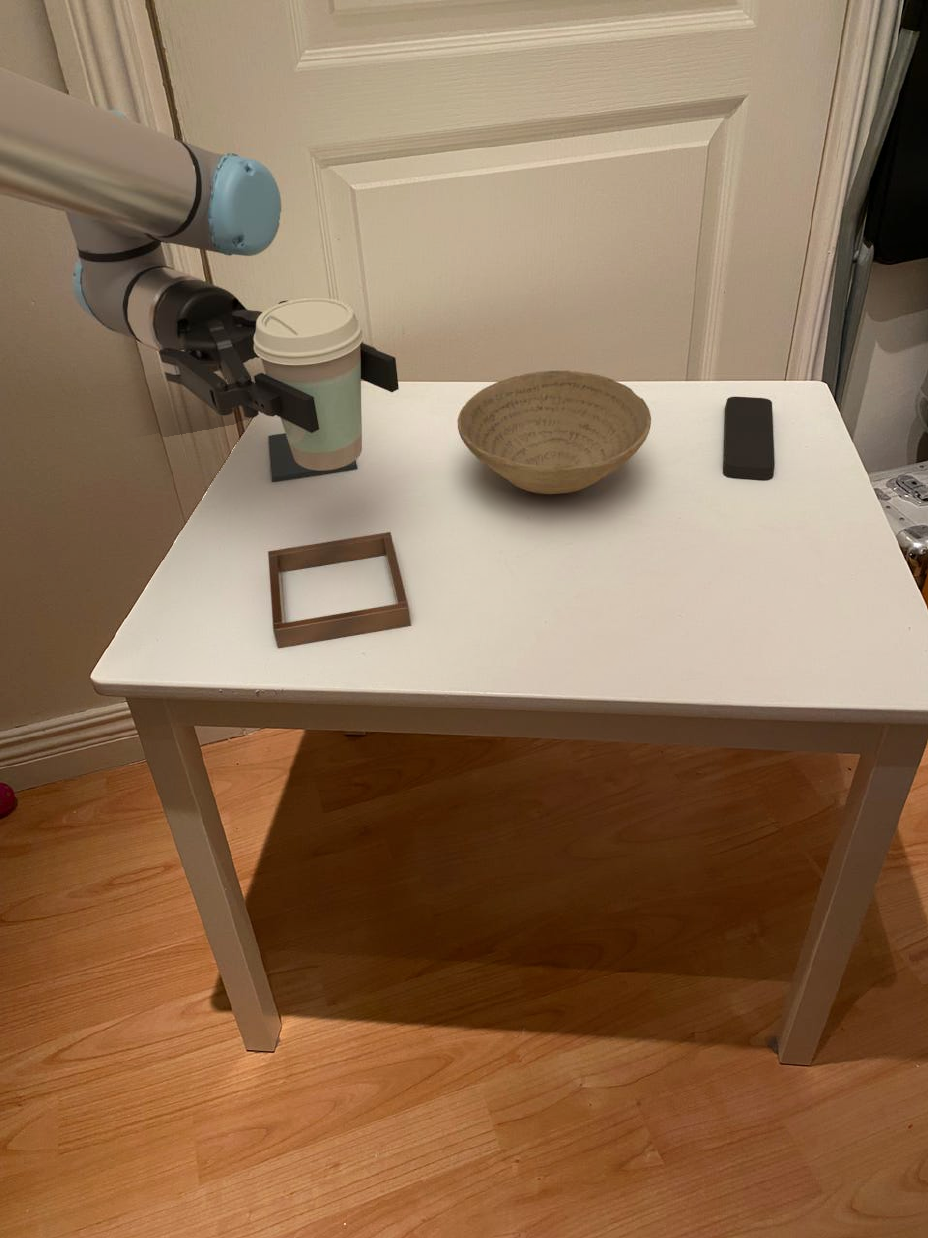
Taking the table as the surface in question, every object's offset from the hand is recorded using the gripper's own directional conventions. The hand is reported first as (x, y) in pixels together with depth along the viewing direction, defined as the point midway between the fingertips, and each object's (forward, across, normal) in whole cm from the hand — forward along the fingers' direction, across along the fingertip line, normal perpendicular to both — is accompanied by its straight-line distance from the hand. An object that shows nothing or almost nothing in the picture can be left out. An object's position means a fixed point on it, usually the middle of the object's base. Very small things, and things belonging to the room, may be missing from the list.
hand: (354, 394), depth 72 cm
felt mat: (-22, -10, -18) cm, 31 cm away
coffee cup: (-5, 0, -7) cm, 9 cm away
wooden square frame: (-1, +4, -18) cm, 19 cm away
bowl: (+1, -22, -19) cm, 29 cm away
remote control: (+12, -41, -19) cm, 47 cm away
